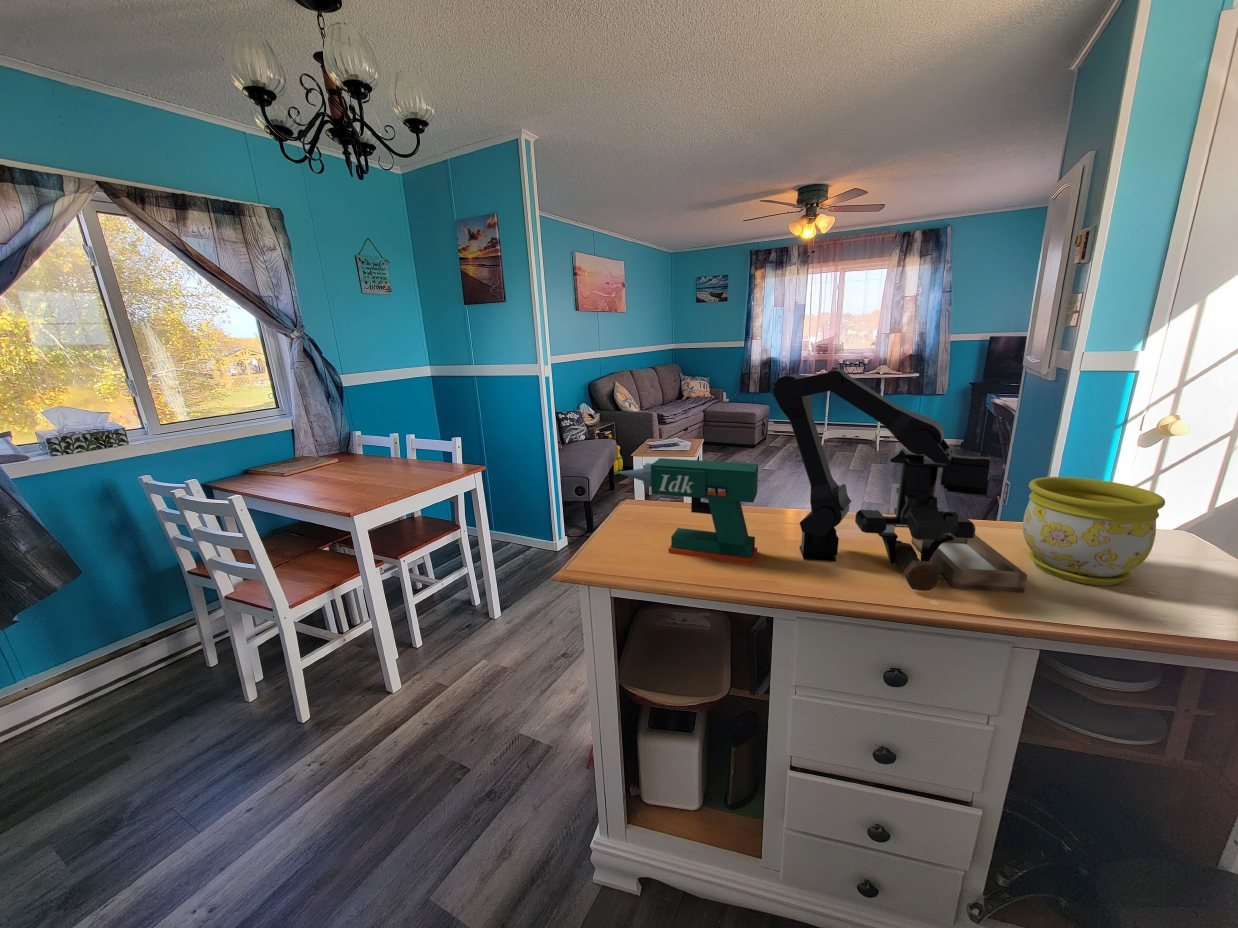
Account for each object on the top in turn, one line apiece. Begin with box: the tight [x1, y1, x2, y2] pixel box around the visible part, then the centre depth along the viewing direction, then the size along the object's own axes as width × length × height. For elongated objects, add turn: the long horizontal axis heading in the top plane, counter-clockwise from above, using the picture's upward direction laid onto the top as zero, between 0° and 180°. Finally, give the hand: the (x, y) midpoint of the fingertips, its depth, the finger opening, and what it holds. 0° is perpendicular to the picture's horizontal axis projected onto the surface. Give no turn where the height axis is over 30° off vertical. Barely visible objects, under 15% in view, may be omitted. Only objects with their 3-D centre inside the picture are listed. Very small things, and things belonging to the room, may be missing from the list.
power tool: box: [615, 457, 759, 566], centre depth 105 cm, size 32×7×20 cm, turn 68°
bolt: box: [894, 539, 942, 592], centre depth 92 cm, size 6×5×15 cm
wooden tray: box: [910, 534, 1028, 594], centre depth 95 cm, size 11×20×4 cm, turn 168°
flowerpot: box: [1022, 476, 1166, 586], centre depth 90 cm, size 18×18×16 cm
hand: (907, 564), depth 92 cm, fingers closed on bolt, 5 cm apart
